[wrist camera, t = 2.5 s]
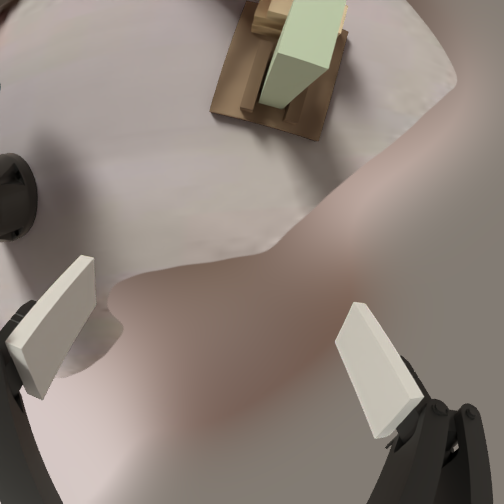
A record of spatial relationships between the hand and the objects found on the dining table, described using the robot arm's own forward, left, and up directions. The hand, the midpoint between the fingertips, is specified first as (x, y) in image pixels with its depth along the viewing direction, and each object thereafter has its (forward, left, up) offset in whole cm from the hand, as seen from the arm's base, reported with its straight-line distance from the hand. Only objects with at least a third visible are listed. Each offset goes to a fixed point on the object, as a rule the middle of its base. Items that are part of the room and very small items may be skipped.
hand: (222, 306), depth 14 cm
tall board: (+1, +16, -24) cm, 29 cm away
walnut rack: (+1, +19, -26) cm, 32 cm away
